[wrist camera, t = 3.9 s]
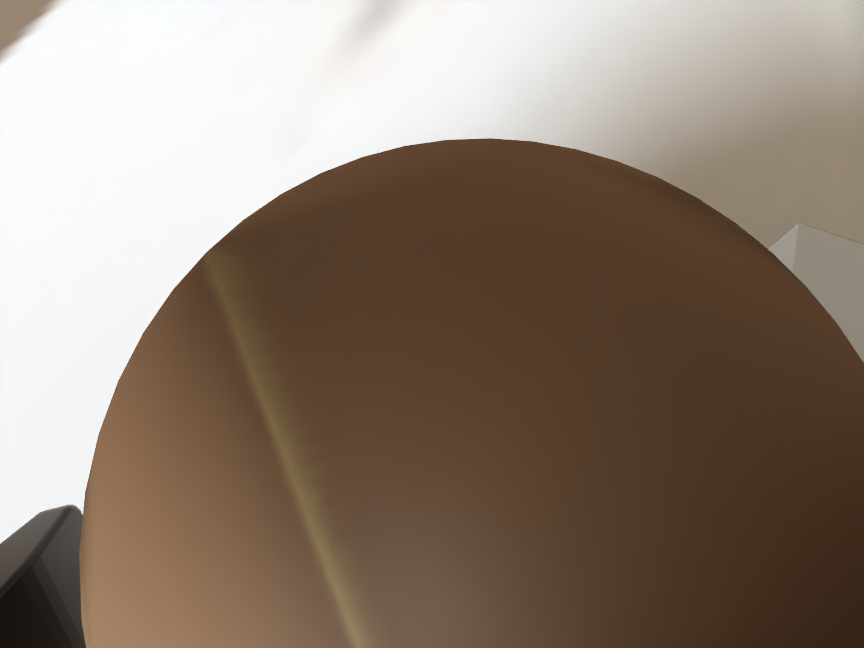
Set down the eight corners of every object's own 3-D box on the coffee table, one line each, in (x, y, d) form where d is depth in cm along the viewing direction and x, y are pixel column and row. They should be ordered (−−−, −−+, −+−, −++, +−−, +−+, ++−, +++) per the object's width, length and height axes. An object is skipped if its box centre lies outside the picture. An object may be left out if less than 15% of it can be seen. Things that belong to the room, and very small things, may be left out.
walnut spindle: (464, 695, 14) (932, 1267, 2) (282, 623, 14) (-142, 803, 2) (519, 503, 15) (940, 272, 4) (356, 442, 16) (311, 55, 4)
